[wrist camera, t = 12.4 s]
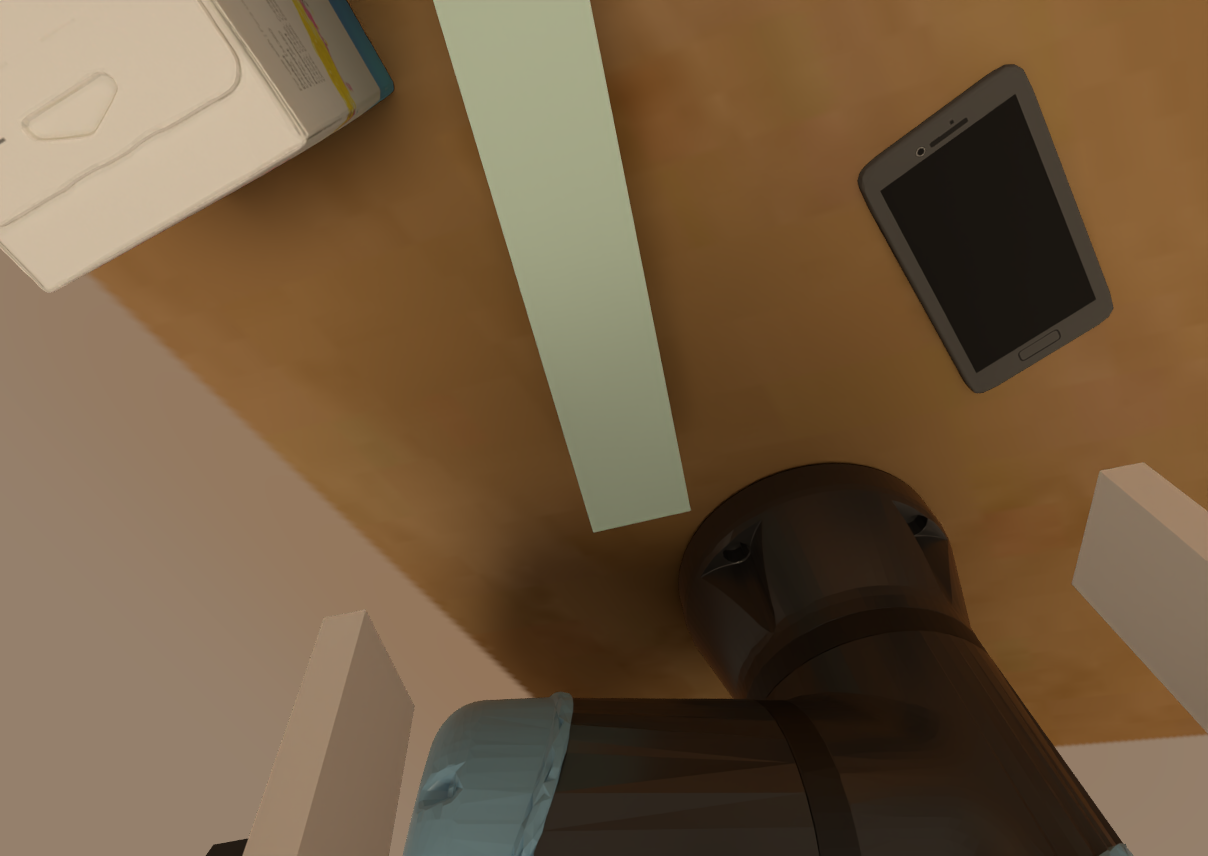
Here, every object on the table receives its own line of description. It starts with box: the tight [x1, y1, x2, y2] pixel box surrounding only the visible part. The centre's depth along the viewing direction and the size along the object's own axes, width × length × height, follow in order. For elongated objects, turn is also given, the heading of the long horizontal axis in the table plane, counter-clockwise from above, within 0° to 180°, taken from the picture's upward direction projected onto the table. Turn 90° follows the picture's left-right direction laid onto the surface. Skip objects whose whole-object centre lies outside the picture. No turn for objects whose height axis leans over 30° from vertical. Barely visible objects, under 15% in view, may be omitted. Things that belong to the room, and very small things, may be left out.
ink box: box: [0, 0, 394, 293], centre depth 20 cm, size 8×8×12 cm
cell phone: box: [858, 64, 1113, 393], centre depth 32 cm, size 7×14×1 cm, turn 38°
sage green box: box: [433, 0, 691, 533], centre depth 25 cm, size 27×14×8 cm, turn 13°
